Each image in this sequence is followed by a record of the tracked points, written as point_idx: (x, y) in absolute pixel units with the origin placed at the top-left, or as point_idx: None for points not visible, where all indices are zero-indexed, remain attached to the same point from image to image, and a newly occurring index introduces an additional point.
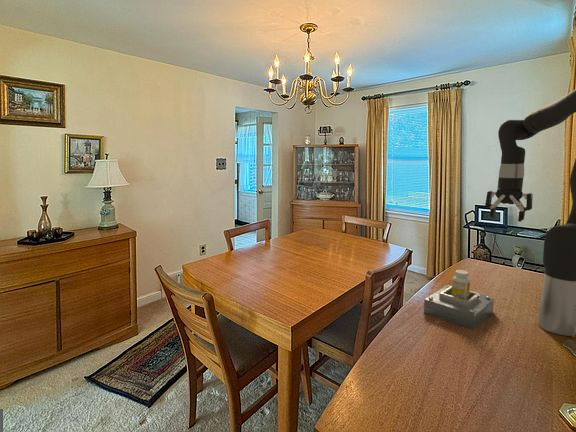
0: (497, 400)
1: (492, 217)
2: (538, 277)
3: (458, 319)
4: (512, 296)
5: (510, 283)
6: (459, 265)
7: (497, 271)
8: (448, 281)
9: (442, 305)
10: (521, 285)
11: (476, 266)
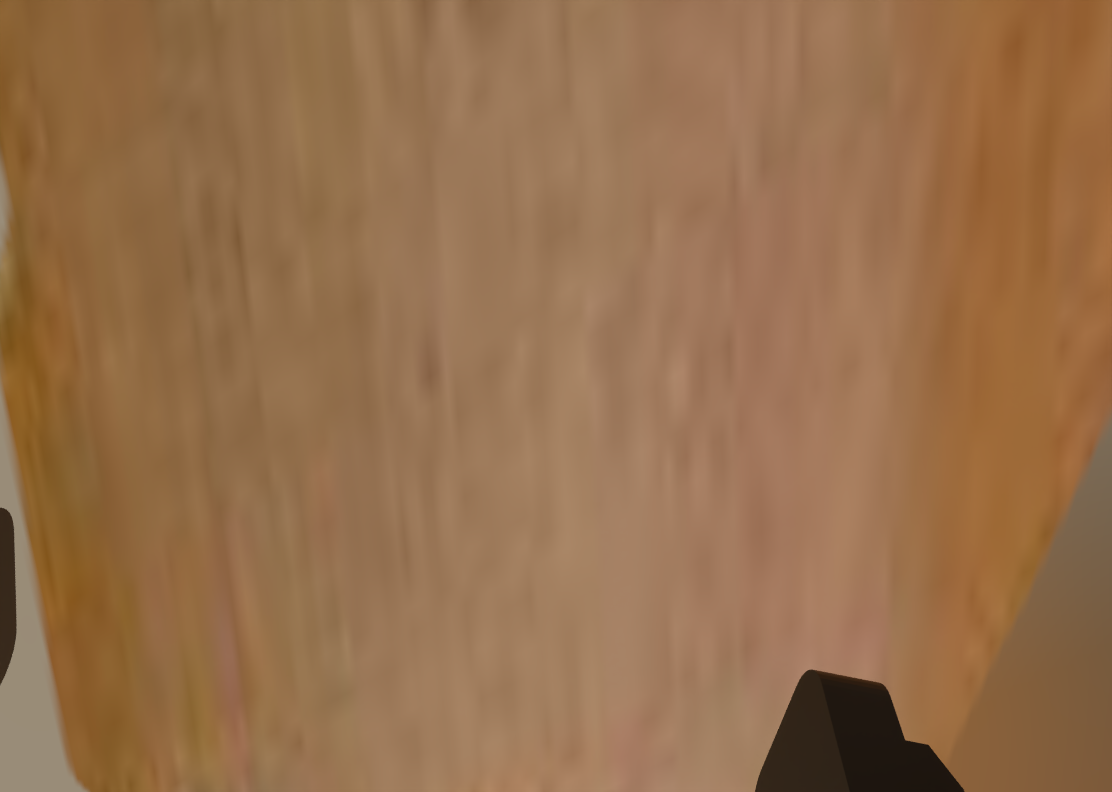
0: None
1: (855, 687)
2: (283, 747)
3: None
4: (422, 130)
5: (469, 490)
6: None
7: (593, 742)
8: (1053, 218)
9: None
10: (380, 486)
11: None
